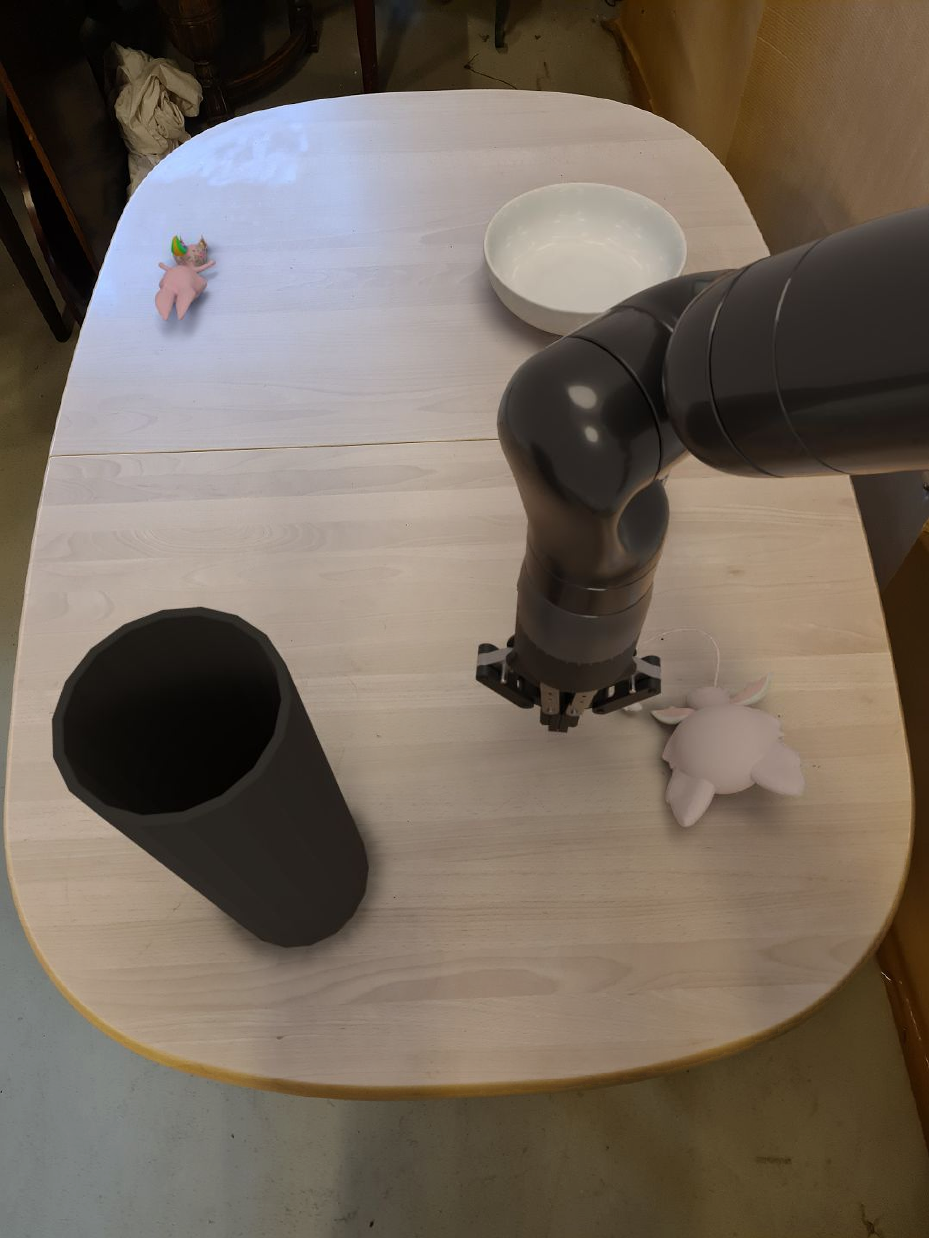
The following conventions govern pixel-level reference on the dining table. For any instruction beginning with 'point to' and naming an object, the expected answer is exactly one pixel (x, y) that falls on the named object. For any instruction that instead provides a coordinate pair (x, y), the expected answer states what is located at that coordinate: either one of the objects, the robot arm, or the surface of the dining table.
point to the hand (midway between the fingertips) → (558, 720)
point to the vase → (214, 770)
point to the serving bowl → (579, 252)
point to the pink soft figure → (182, 278)
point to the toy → (724, 747)
